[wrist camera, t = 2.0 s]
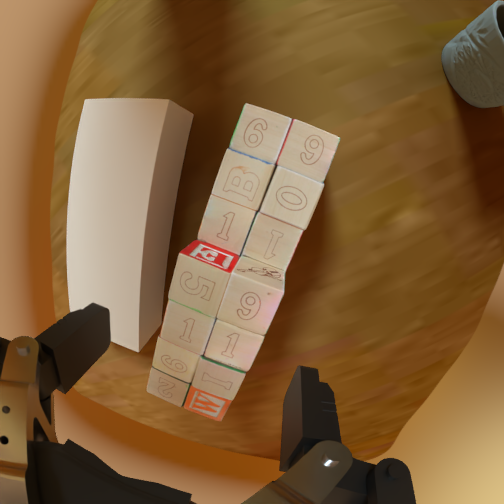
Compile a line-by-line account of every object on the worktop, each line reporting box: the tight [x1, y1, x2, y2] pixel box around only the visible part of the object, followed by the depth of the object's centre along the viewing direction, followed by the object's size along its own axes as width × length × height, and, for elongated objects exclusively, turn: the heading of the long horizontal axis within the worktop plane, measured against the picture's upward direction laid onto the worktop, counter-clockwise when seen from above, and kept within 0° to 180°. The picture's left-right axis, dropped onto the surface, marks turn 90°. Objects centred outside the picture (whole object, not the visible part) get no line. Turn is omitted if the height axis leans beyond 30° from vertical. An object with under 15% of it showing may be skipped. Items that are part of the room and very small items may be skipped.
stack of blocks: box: [146, 103, 340, 421], centre depth 21 cm, size 21×6×12 cm, turn 159°
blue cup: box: [442, 1, 504, 108], centre depth 12 cm, size 10×10×12 cm
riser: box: [67, 98, 194, 352], centre depth 24 cm, size 23×9×6 cm, turn 167°
